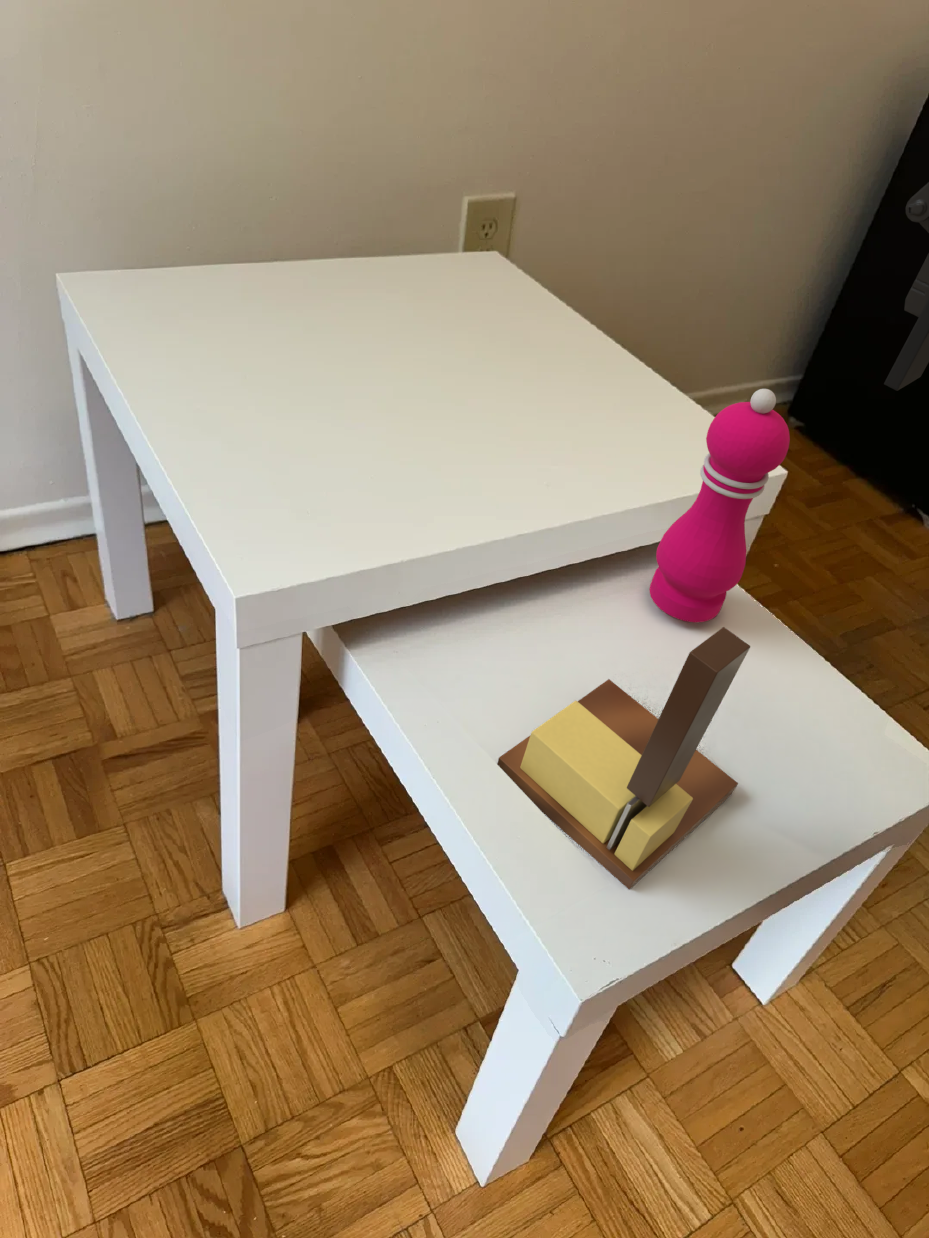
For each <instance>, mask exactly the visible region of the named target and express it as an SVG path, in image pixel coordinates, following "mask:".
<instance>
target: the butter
mask: <svg viewBox="0 0 929 1238" xmlns="http://www.w3.org/2000/svg"><path fill="white" fill-rule="evenodd" d="M577 701H578V700H574V701H573V702H571V703H570V704H568V705H567V706H566V707H564V708H563V709H561V710H559V712H558V713H557V712H556V714H555V715H553V716H552V717H550V718H549V719H548V720H546V721H545V722H543V723H542V724H540V725H538V726H537V727H536V728H535V729H533V730H532V731H531V733H530V734H529V736H530V739H529V742H528V745H527V748H526V751H525V754H524V757H523V760H522V763H521V767H520V768H521V769H522V770H523V771H524V772H525V773H526V774H527V775H528V776H529V777H531V778H532V779H533V780H534V781H535V782H536V783H537V784H538V785H539V786H540V787H541V788H543V789H544V790H545V791H546V792H547V793H548V794H549V795H550V796H551V797H552V798H554V799H555V800H556V801H557V802H558V803H559V804H560V805H561V806H562V807H563V808H564V809H566V810H567V811H568V812H569V813H570V814H571V815H572V816H573V817H574V818H575V819H576V820H578V821H579V822H580V823H581V824H582V825H583V826H584V827H585V828H586V829H587V830H589V831H590V832H591V833H592V834H593V835H594V836H595V837H596V838H597V839H598V840H599V841H601V842H602V843H603V844H604V843H605V842H606V841H607V840H609V839H610V838H611V837H612V834H613V832H614V830H615V828H616V826H617V824H618V822H619V820H620V818H621V816H622V814H623V811H624V809H625V807H626V805H627V803H628V802H629V801H631V800H632V799H633V798H634V797H635V795H634V794H633V793H632V792H631V791H629V790H628V789H627V785H628V783H629V781H630V779H631V777H632V775H633V773H634V770H635V768H636V766H637V764H638V762H639V760H640V758H641V754H640V753H638V752H637V751H636V750H635V749H634V748H632V747H631V746H630V745H629V744H628V743H626V742H625V741H624V740H623V739H622V738H620V737H619V736H618V735H617V734H616V733H614V732H613V731H612V730H611V729H610V728H609V727H607V726H606V725H605V724H604V723H603V722H601V721H600V720H599V719H598V718H597V717H595V716H594V715H593V714H592V713H591V712H589V711H588V710H587V709H586V708H585V707H583V706H582V705H581V704H580V703H579V702H577ZM692 800H693V798H692V797H691V796H690V795H689V794H688V793H686V792H685V791H684V790H683V789H682V788H680V787H679V786H678V785H677V784H675V785H674V786H673V787H672V788H670V789H669V790H668V791H667V792H666V793H665V794H664V795H662V796H661V797H660V798H659V799H658V800H657V801H656V802H655V803H653V804H652V805H651V806H650V807H648V806H646V807H645V808H644V809H643V810H642V811H641V812H640V813H638V814H637V815H636V816H635V817H634V818H633V819H631V821H630V823H629V825H628V827H627V829H626V831H625V833H624V835H623V837H622V839H621V841H620V844H619V846H618V848H617V850H616V852H615V856H617V857H618V858H619V859H620V860H621V861H622V862H623V863H624V864H625V865H626V866H628V867H629V868H630V869H631V870H632V871H633V870H634V869H635V868H636V867H637V866H639V865H640V864H641V863H642V862H643V861H644V860H645V859H646V858H647V857H648V856H649V855H650V854H652V853H653V852H654V851H655V850H656V849H657V848H658V847H659V846H660V845H661V844H662V843H663V842H665V841H666V840H667V839H668V838H669V837H670V836H671V835H672V834H673V833H674V832H675V830H676V828H677V826H678V825H679V823H680V821H681V819H682V818H683V816H684V814H685V812H686V810H687V809H688V807H689V805H690V803H691V802H692Z"/></svg>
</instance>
